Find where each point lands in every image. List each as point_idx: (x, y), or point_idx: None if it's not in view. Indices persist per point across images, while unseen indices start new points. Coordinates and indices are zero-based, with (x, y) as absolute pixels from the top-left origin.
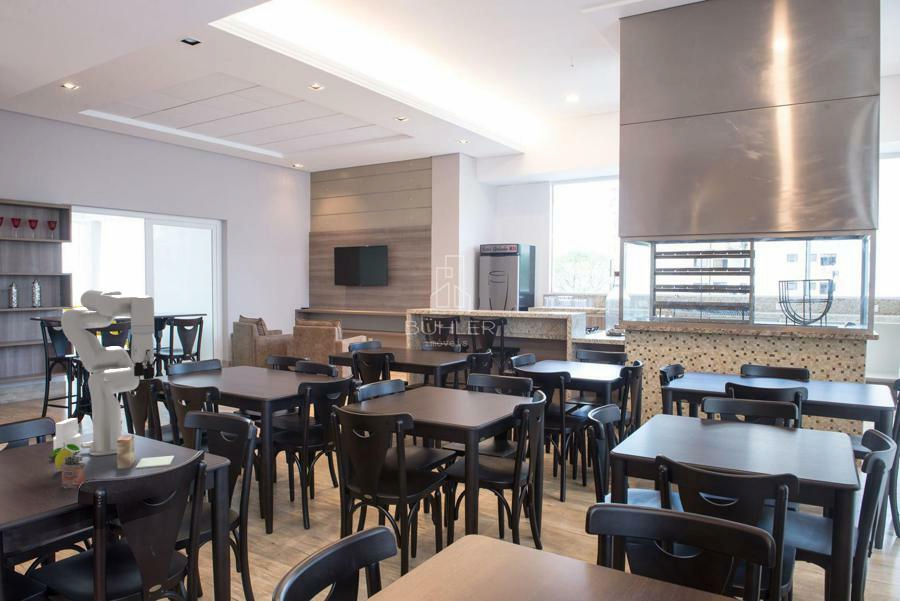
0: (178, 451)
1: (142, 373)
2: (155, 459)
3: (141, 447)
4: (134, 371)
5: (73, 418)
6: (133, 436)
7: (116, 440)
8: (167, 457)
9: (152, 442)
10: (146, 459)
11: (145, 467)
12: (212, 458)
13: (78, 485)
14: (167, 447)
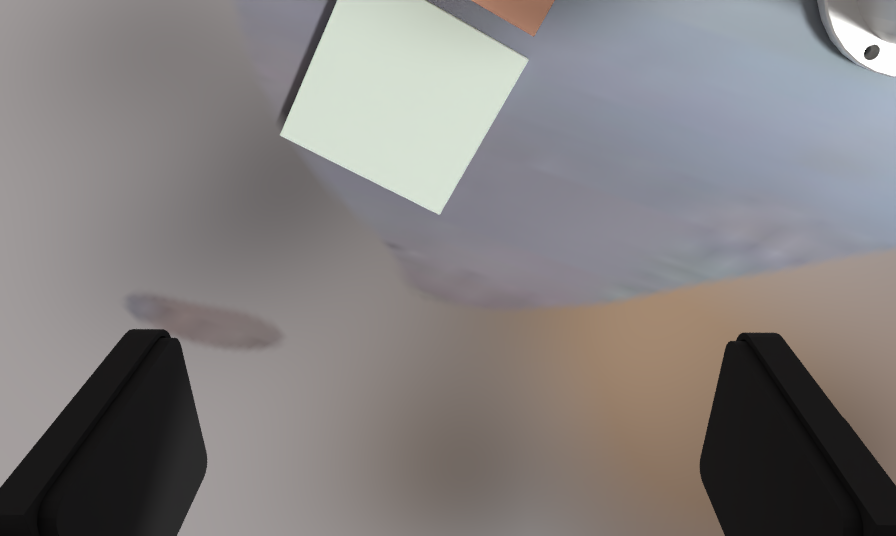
0: (534, 264)
1: (718, 482)
2: (438, 111)
3: (813, 151)
4: (799, 397)
5: None
6: (517, 26)
7: (893, 4)
8: (427, 174)
9: (862, 235)
10: (479, 72)
11: (332, 14)
12: (267, 326)
13: None
14: (670, 253)
